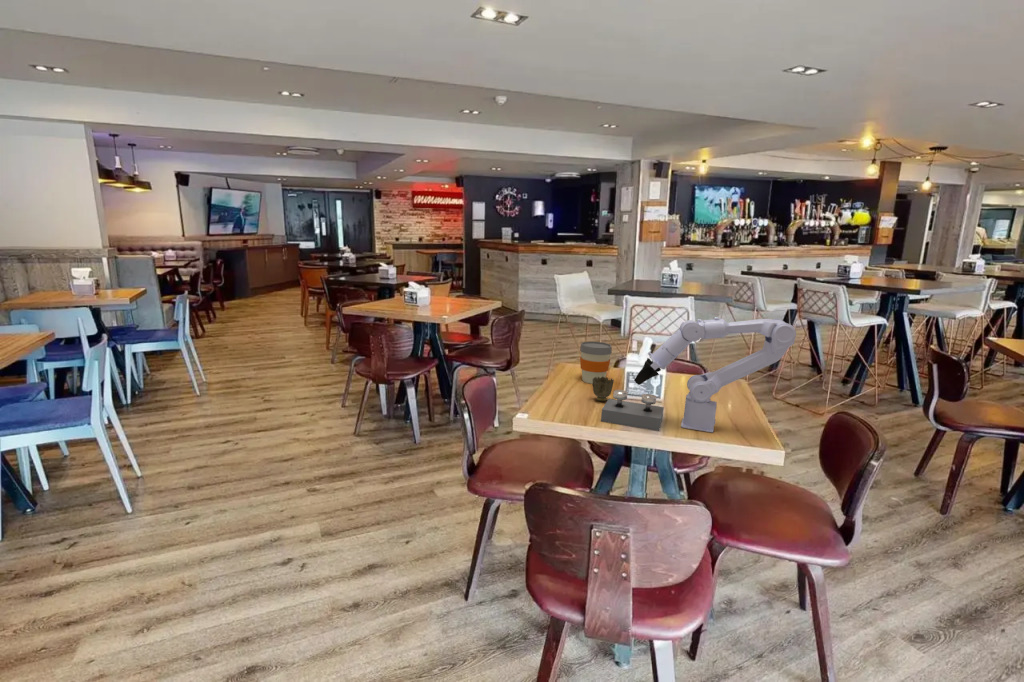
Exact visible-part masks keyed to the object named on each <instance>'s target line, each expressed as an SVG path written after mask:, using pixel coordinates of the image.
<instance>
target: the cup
mask: <svg viewBox="0 0 1024 682" xmlns="http://www.w3.org/2000/svg"><path fill="white" fill-rule="evenodd" d="M613 386H614V379H613V378H610V379H609V378H608V376H607V377H603V376H602V377H601V378H599V377H598V379H597V377H595V378H594V379H593V384H592V391H593V394H594V395H595V397H596V401H597V402H600V403H601V402H602V403H603V402H604V403H605V402H607V401H608V397H610V395H612V390H613Z"/></svg>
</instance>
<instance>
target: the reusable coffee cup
mask: <svg viewBox="0 0 1024 682" xmlns="http://www.w3.org/2000/svg"><path fill="white" fill-rule="evenodd" d="M579 351H580V357H579V362H580V363H579V365H580V369H581V379H582V381H583V382H584V383H586V384H591V385H593V379H594V378H595V377H597V379H598V377H599V378H601V377H602V376H603V377H605V378H606V376H607V372H608V371H609V368H610V364H611V359H610V358H611V354H612V351H613V350H612V344H610V343H608V342H607V343H606V342H604V341H603V342H601V341H583V342H581V344H580V349H579Z"/></svg>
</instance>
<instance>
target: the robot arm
mask: <svg viewBox="0 0 1024 682" xmlns="http://www.w3.org/2000/svg"><path fill="white" fill-rule="evenodd" d="M738 333H739V334H743V333H744V334H746V333H758V334H760V335H762V336H764V337H765V338H764V343H763V346H762V349H759V350H757V351H756V352H753V353H751V354H749V355H747V356H744V357H743V358H740V359H738V360H737V361H733V362H732V363H729V364H727V365H725V366H724V367H721V368H719V369H717V370H715V371H712V372H705V373H703V374H695V375H692V376H690V377H689V378H688V380H687V382H686V386H687V389H688V391H689V392H688V393H687V394H686V396H685V402H684V411H683V418H682V419H681V423H680V427H681V428H684V429H689V430H694V431H699V432H700V431H701V432H707V433H714V428H715V425H716V412H717V401H713V400H711V397H712V396H713V395H715V394H717V393H718V392H719V391H720V390H721V389H722V388H723V387H725V386H727V385H729V384H732V383H735V382H736V381H738V380H740V379H742V378H745V377H747V376H749V375H752V374H753V373H755V372H757V371H760V370H762V369H765V368H766V367H768V366H771V365H773V364H775V363H777V362H778V361H780V360H781V359H782V358H783V356H784V355H785V353H786V352H787V351H788V350H789V348H790V347H791V346H793V345H794V344H795V340H796V337H797V331H796V329H795V327H794V326H793V325H792V324H790V323H787V322H785V321H784V320H782V319H780V318H773V319H771V318H758V319H749V320H741V321H731V322H730V321H729V322H727V321H726V320H725V319H724V318H720V317H719V316H716V317H713V319H701V318H698V319H697V320H696V321H695V320H692V319H688V320H685V321H682V322H681V324H680V325H679V329H677V330H676V331H675V332H674V333H673V334H672V335H670V337H668V338H667V339H666V341H664V342H663V343H662V344H661V345H660V346H659V347H658V348H657V349H656V350H655V351H654V352H653V353H652V352H651V351H648V353H647V355H648V356H649V357H650V358H649V357H647V358H646V360H645V362H644V364H643V365H642V366H643V367H642V368H641V369H640V371H639V372H638V373H637V375H636V376H635V378H634V382H635V383H636V384H637V385H638V386H640V385H641V384H643V383H645V382H646V381H648V380H649V379H651V378H654V377H656V376H657V377H658V376H659V375H660V373H659V372H661V370H665V369H666V368H667V367H668V366H669V365H670V364H671V362H673V361H674V360H675V359H676V358H677V357H678V356H679V355H680V354H681V353H682V352H683V351H684V350H685V349H687V347H688V346H689V345H690V344H691V343H693V342H697V341H699V340H700V339H702V340H707V339H708V340H709V339H720V338H721V339H722V338H723V339H724V338H725V337H726V336H727V335H728V334H738Z"/></svg>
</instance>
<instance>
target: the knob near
mask: <svg viewBox="0 0 1024 682" xmlns="http://www.w3.org/2000/svg"><path fill="white" fill-rule="evenodd" d="M641 402H642V404H646V407H645V410H647V411H650V409H651V405H655V404H657V403H656V402H657V395H654V394H651V393H642V394H641Z"/></svg>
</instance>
